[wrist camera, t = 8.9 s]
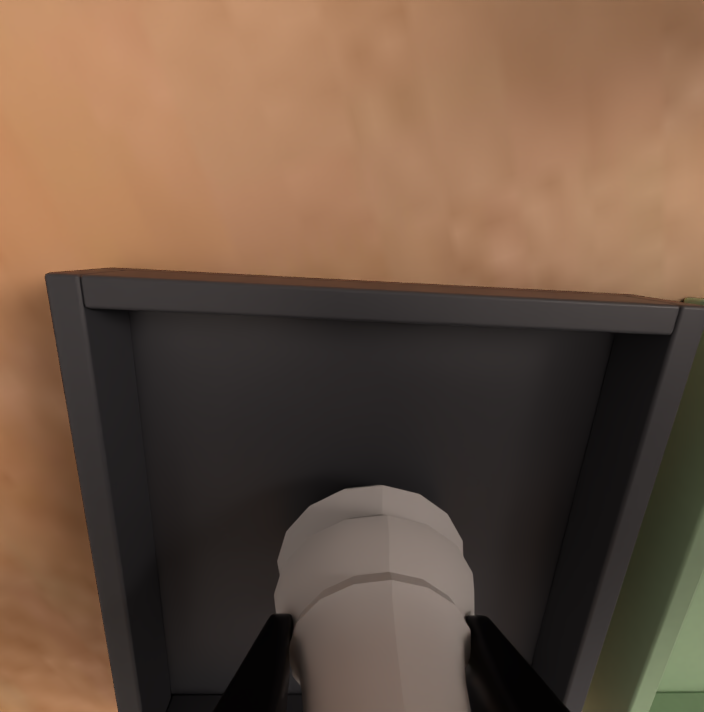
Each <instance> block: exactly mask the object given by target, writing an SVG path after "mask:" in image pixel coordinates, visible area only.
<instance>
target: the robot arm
mask: <svg viewBox="0 0 704 712" xmlns="http://www.w3.org/2000/svg"><path fill="white" fill-rule="evenodd" d="M466 623H467V625H468V626H469V628H470V630H471V651H470V659H469V661H468V663H467V665H466V667H465V675H466V685H467V690H468V695H469V700H470V705H471V710H472V712H570V711H569V709H568V708H567V707H566V706H565V705H564V704H563V702H562V701H561V700H560V699H559V698H558V697H557V696H556V694H555V693H554V692H553V691H552V690H551V689H550V687H549V686H548V685H547V684H546V683H545V682H544V681H543V679H542V678H541V677H540V676H539V675H538V674H537V672H536V671H535V670H534V669H533V668H532V667H531V666H530V664H529V663H528V662H527V661H526V660H525V659H524V658H523V656H522V655H521V654H520V653H519V652H518V651H517V649H516V648H515V647H514V646H513V645H512V644H511V643H510V641H509V640H508V639H507V638H506V637H505V636H504V634H503V633H502V632H501V631H500V630H499V629H498V628H497V626H496V625H495V624H494V623H493V622H492V621H491V620H490V619H489V618H488V617H487V616H484V615H469V616H467V617H466ZM291 638H292V615H291V614H289V613H274V614H272V615H271V616H270V617H269V618H268V620H267V621H266V623H265V625H264V626H263V628H262V630H261V632H260V633H259V635H258V637H257V638H256V640H255V642H254V643H253V645H252V647H251V648H250V650H249V652H248V653H247V655H246V657H245V658H244V660H243V662H242V663H241V665H240V667H239V668H238V670H237V672H236V673H235V675H234V677H233V678H232V680H231V682H230V683H229V685H228V687H227V688H226V690H225V692H224V693H223V695H222V697H221V699H220V700H219V702H218V704H217V705H216V707H215V709H214V710H213V712H286V708H287V698H288V687H289V677H290V667H291V665H290V653H289V651H290V641H291Z"/></svg>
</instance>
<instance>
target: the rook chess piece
mask: <svg viewBox="0 0 704 712" xmlns="http://www.w3.org/2000/svg"><path fill="white" fill-rule="evenodd" d="M277 563H278V568H279V573H280V577H279V580H278V583H277V586H276V590H275V593H274V600H275V608H276V613H289V614H291V615H292V638H291V641H290V651H289V653H290V665H291V670H292V675H293V677H294V678H295V679H296V681H297V682H298V683H299V684H300V685H301V692H302V698H303V712H471V708H470V703H469V697H468V691H467V685H466V675H465V667H466V665H467V663H468V661H469V659H470V651H471V630H470V628H469V626H468V625H467V623H466V617H467V616H469V615H474V583H473V573H472V571H471V569H470V568H469V566H468V564H467V562H466V560H465V559H464V557H463V541H462V539H461V537H460V535H459V534H458V532H457V530H456V528H455V526H454V525H453V523H452V521H451V519H450V517H449V516H448V514H447V513H445V512H444V511H443V510H441V509H440V508H438V507H437V506H436V505H434V504H433V503H431V502H430V501H429V500H427V499H426V498H424V497H423V496H422V495H420V494H417V493H413V492H409V491H405V490H401V489H397V488H392V487H388V486H384V485H371V486H361V487H352V488H346V489H343V490H341V491H339V492H337V493H335V494H333V495H331V496H329V497H327V498H325V499H323V500H321V501H319V502H317V503H315V504H312V505H310V506H309V507H308V508H307V509H306V510H305V511H304V512H303V514H302V515H301V516H300V517H299V518H298V519H297V520H296V521H295V522H294V524H293V525H292V526H291V527H290V528H289V529H288V530H287V531H286V534H285V537H284V540H283V544H282V547H281V550H280V554H279V557H278V560H277Z"/></svg>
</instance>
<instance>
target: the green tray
mask: <svg viewBox="0 0 704 712" xmlns="http://www.w3.org/2000/svg"><path fill="white" fill-rule="evenodd" d="M684 303H690V304H696V305H703V306H704V298H685V300H684ZM582 712H704V329H703V332H702V336H701V339H700V342H699V345H698V348H697V351H696V354H695V358H694V361H693V364H692V367H691V370H690V373H689V376H688V380H687V383H686V386H685V389H684V392H683V395H682V398H681V402H680V405H679V408H678V411H677V414H676V417H675V420H674V423H673V427H672V430H671V433H670V436H669V439H668V442H667V445H666V449H665V452H664V455H663V458H662V461H661V464H660V467H659V471H658V474H657V477H656V480H655V483H654V486H653V489H652V493H651V496H650V499H649V502H648V505H647V508H646V511H645V515H644V518H643V521H642V524H641V527H640V530H639V533H638V537H637V540H636V543H635V546H634V549H633V552H632V555H631V559H630V562H629V565H628V568H627V571H626V574H625V577H624V581H623V584H622V587H621V590H620V593H619V596H618V599H617V602H616V606H615V609H614V612H613V615H612V618H611V621H610V624H609V628H608V631H607V634H606V637H605V640H604V643H603V646H602V650H601V653H600V656H599V659H598V662H597V665H596V668H595V672H594V675H593V678H592V681H591V684H590V687H589V690H588V694H587V697H586V700H585V703H584V706H583V709H582Z"/></svg>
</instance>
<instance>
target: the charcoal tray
mask: <svg viewBox="0 0 704 712" xmlns="http://www.w3.org/2000/svg"><path fill="white" fill-rule="evenodd" d="M45 281H46V286H47V292H48V298H49V304H50V310H51V316H52V322H53V328H54V334H55V340H56V346H57V352H58V357H59V363H60V369H61V375H62V381H63V387H64V393H65V399H66V405H67V411H68V417H69V423H70V428H71V434H72V440H73V446H74V452H75V458H76V464H77V470H78V476H79V482H80V488H81V494H82V500H83V505H84V511H85V517H86V523H87V529H88V535H89V541H90V547H91V553H92V559H93V565H94V571H95V576H96V582H97V588H98V594H99V600H100V606H101V612H102V618H103V624H104V630H105V636H106V642H107V647H108V653H109V659H110V665H111V671H112V677H113V683H114V689H115V695H116V701H117V707H118V712H213V710H214V709H215V707H216V705H217V704H218V702H219V700H220V699H221V697H222V695H223V693H224V692H225V690H226V688H227V687H228V685H229V683H230V682H231V680H232V678H233V677H234V675H235V673H236V672H237V670H238V668H239V667H240V665H241V663H242V662H243V660H244V658H245V657H246V655H247V653H248V652H249V650H250V648H251V647H252V645H253V643H254V642H255V640H256V638H257V637H258V635H259V633H260V632H261V630H262V628H263V626H264V625H265V623H266V621H267V620H268V618H269V617H270V616H271V615H272V614H274V613H276V608H275V600H274V593H275V590H276V586H277V583H278V580H279V577H280V573H279V568H278V563H277V560H278V557H279V554H280V550H281V547H282V544H283V540H284V537H285V534H286V531H287V530H288V529H289V528H290V527H291V526H292V525H293V524H294V522H295V521H296V520H297V519H298V518H299V517H300V516H301V515H302V514H303V512H304V511H305V510H306V509H307V508H308V507H309V506H310V505H312V504H315V503H317V502H319V501H321V500H323V499H325V498H327V497H329V496H331V495H333V494H335V493H337V492H339V491H341V490H343V489H346V488H352V487H361V486H371V485H384V486H388V487H392V488H397V489H401V490H405V491H409V492H413V493H417V494H420V495H422V496H423V497H424V498H426V499H427V500H429V501H430V502H431V503H433V504H434V505H436V506H437V507H438V508H440V509H441V510H443V511H444V512H445V513H447V514H448V516H449V517H450V519H451V521H452V523H453V525H454V526H455V528H456V530H457V532H458V534H459V535H460V537H461V539H462V541H463V557H464V559H465V560H466V562H467V564H468V566H469V568H470V569H471V571H472V573H473V583H474V615H484V616H487V617H488V618H489V619H490V620H491V621H492V622H493V623H494V624H495V625H496V626H497V628H498V629H499V630H500V631H501V632H502V633H503V634H504V636H505V637H506V638H507V639H508V640H509V641H510V643H511V644H512V645H513V646H514V647H515V648H516V649H517V651H518V652H519V653H520V654H521V655H522V656H523V658H524V659H525V660H526V661H527V662H528V663H529V664H530V666H531V667H532V668H533V669H534V670H535V671H536V672H537V674H538V675H539V676H540V677H541V678H542V679H543V681H544V682H545V683H546V684H547V685H548V686H549V687H550V689H551V690H552V691H553V692H554V693H555V694H556V696H557V697H558V698H559V699H560V700H561V701H562V702H563V704H564V705H565V706H566V707H567V708H568V709H569V711H570V712H582V709H583V706H584V703H585V700H586V697H587V694H588V690H589V687H590V684H591V681H592V678H593V675H594V672H595V668H596V665H597V662H598V659H599V656H600V653H601V650H602V646H603V643H604V640H605V637H606V634H607V631H608V628H609V624H610V621H611V618H612V615H613V612H614V609H615V606H616V602H617V599H618V596H619V593H620V590H621V587H622V584H623V581H624V577H625V574H626V571H627V568H628V565H629V562H630V559H631V555H632V552H633V549H634V546H635V543H636V540H637V537H638V533H639V530H640V527H641V524H642V521H643V518H644V515H645V511H646V508H647V505H648V502H649V499H650V496H651V493H652V489H653V486H654V483H655V480H656V477H657V474H658V471H659V467H660V464H661V461H662V458H663V455H664V452H665V449H666V445H667V442H668V439H669V436H670V433H671V430H672V427H673V423H674V420H675V417H676V414H677V411H678V408H679V405H680V402H681V398H682V395H683V392H684V389H685V386H686V383H687V380H688V376H689V373H690V370H691V367H692V364H693V361H694V358H695V354H696V351H697V348H698V345H699V342H700V339H701V336H702V332H703V329H704V306H703V305H696V304H690V303H683V302H677V301H670V300H664V299H657V298H651V297H644V296H638V295H630V294H611V293H592V292H572V291H553V290H534V289H514V288H495V287H476V286H457V285H437V284H418V283H399V282H379V281H360V280H341V279H321V278H302V277H283V276H264V275H244V274H225V273H206V272H186V271H167V270H148V269H129V268H101V269H89V270H76V271H64V272H51V273H47V274H45ZM467 691H468V690H467ZM468 697H469V695H468ZM469 703H470V700H469ZM470 708H471V705H470ZM286 712H303V698H302V692H301V685H300V684H299V683H298V682H297V681H296V679H295V678H294V677H293V675H292V670H291V667H290V677H289V687H288V698H287V708H286ZM471 712H472V710H471Z"/></svg>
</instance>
